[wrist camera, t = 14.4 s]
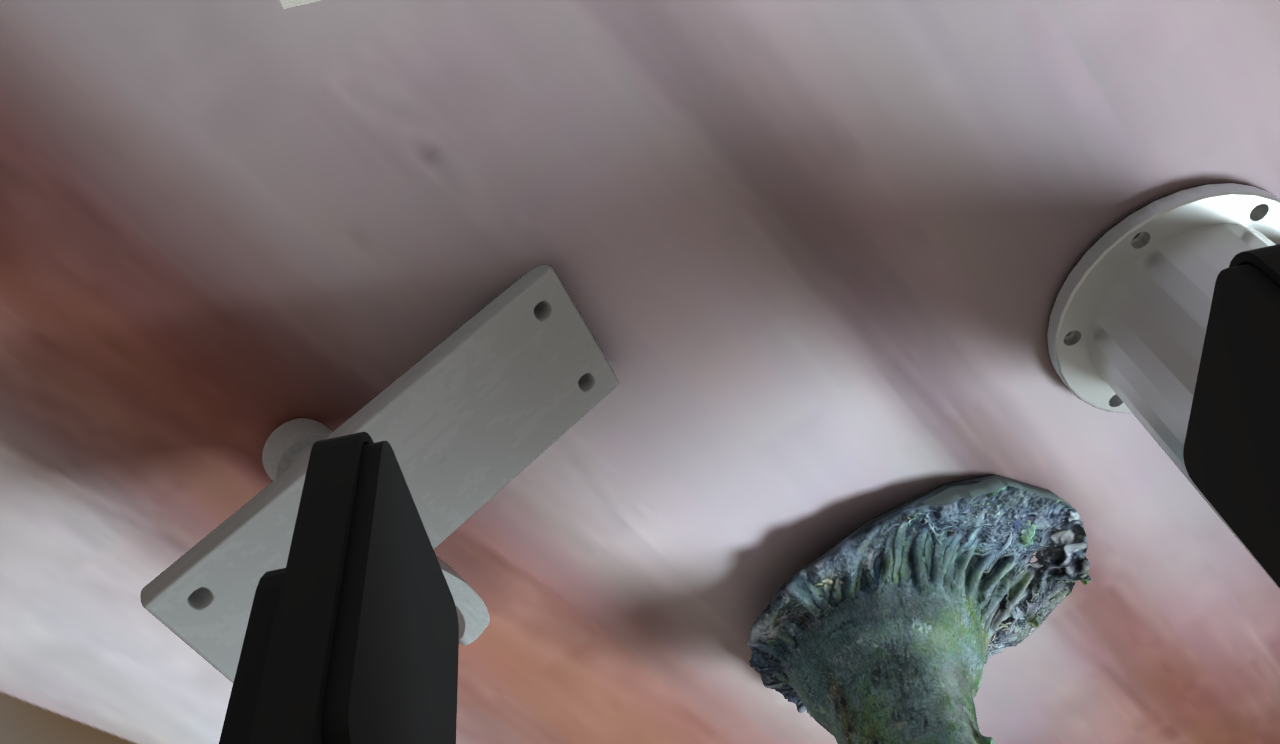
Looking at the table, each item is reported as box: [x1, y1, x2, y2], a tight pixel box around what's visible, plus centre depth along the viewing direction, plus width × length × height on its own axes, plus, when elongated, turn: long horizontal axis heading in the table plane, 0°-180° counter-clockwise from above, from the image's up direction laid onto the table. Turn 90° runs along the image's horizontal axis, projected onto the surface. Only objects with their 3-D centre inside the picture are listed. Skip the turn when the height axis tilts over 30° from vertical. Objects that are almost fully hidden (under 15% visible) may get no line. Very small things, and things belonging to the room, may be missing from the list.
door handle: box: [141, 265, 619, 683], centre depth 49 cm, size 18×8×20 cm
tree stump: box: [747, 475, 1091, 744], centre depth 57 cm, size 18×20×18 cm
